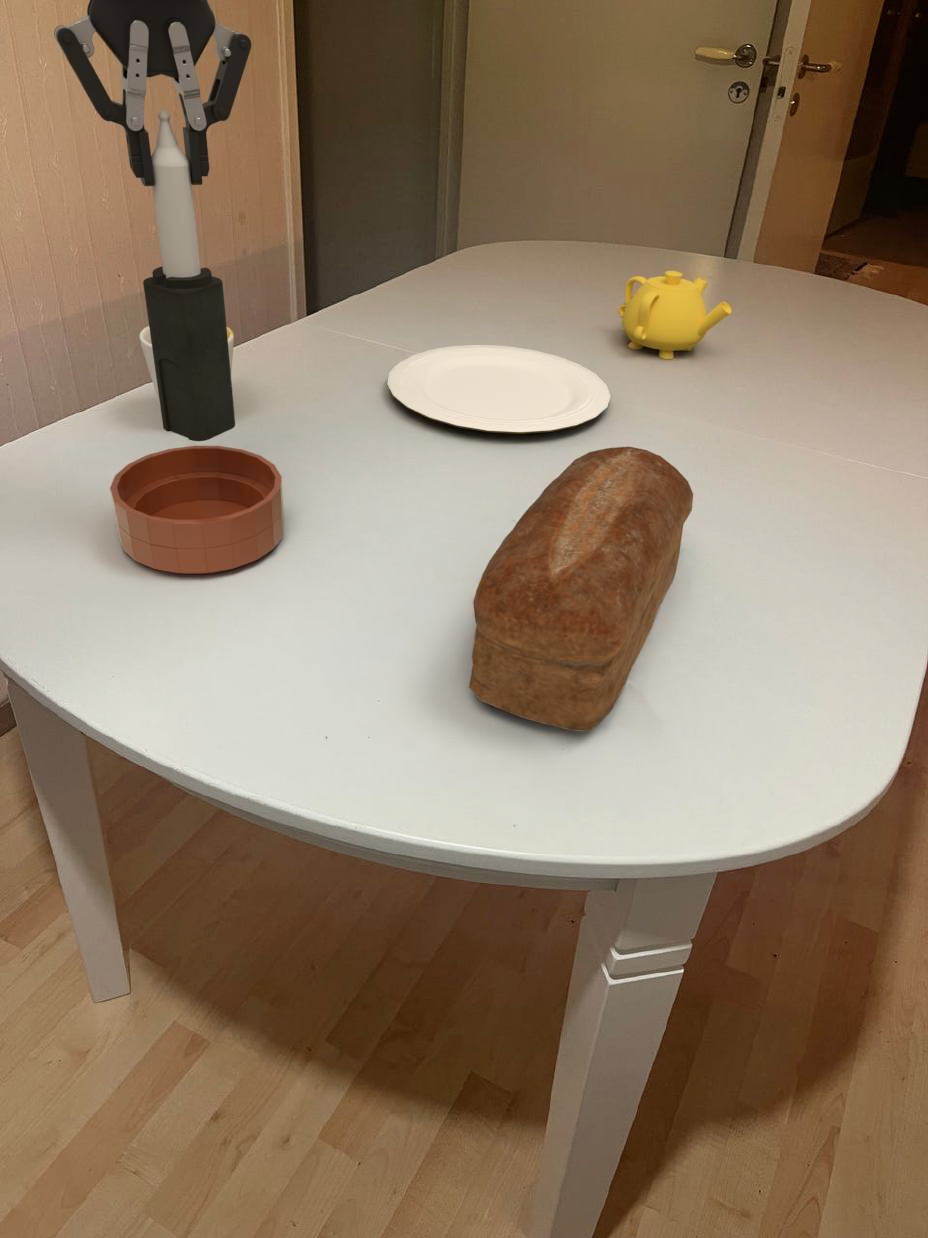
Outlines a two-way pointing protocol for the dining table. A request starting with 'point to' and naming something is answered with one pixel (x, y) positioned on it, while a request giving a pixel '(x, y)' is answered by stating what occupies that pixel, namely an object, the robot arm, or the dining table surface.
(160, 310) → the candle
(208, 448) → the bowl
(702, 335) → the teapot
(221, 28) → the robot arm
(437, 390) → the plate
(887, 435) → the dining table surface
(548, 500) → the bread
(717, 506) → the dining table surface
